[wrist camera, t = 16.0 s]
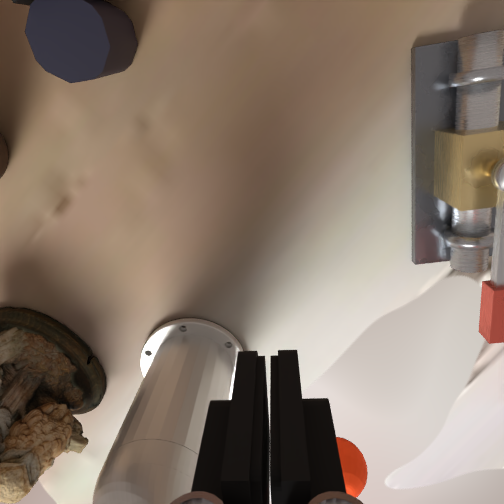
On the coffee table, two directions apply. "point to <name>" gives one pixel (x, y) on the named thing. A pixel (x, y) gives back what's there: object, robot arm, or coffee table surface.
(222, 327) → the robot arm
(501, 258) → the valve lever
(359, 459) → the clementine
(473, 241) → the valve body
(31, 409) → the owl figurine
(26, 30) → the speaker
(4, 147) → the plant pot
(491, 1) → the coffee table surface
